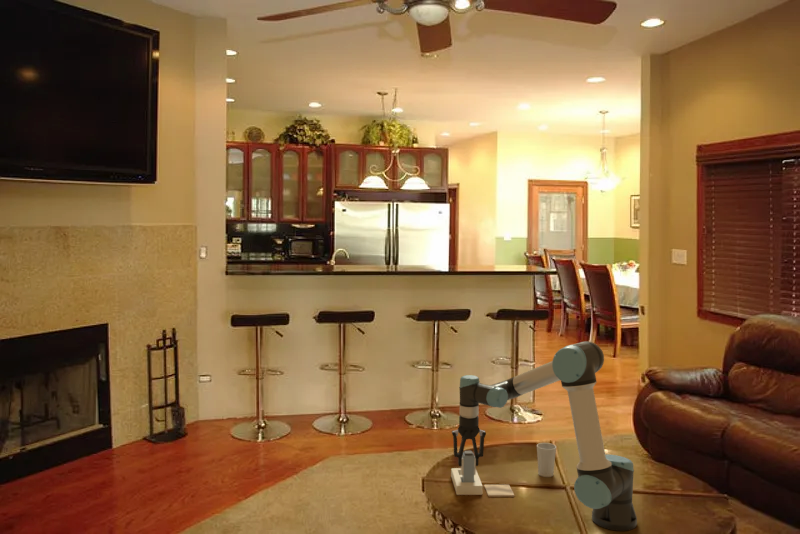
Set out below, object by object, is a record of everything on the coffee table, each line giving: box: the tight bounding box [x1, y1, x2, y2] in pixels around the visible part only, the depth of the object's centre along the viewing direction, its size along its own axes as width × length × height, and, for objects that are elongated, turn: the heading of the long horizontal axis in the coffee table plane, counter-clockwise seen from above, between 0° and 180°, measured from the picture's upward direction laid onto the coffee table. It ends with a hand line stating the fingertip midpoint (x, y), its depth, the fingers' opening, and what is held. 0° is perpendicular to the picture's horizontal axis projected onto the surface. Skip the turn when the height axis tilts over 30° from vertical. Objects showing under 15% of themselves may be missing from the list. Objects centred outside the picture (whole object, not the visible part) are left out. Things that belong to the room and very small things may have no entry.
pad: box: [483, 484, 515, 498], centre depth 255 cm, size 10×10×1 cm
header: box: [450, 467, 484, 496], centre depth 260 cm, size 18×10×4 cm, turn 2°
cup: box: [536, 442, 557, 478], centre depth 272 cm, size 8×8×12 cm
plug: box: [462, 450, 475, 482], centre depth 256 cm, size 4×4×13 cm
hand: (468, 473), depth 257 cm, fingers closed on plug, 4 cm apart
